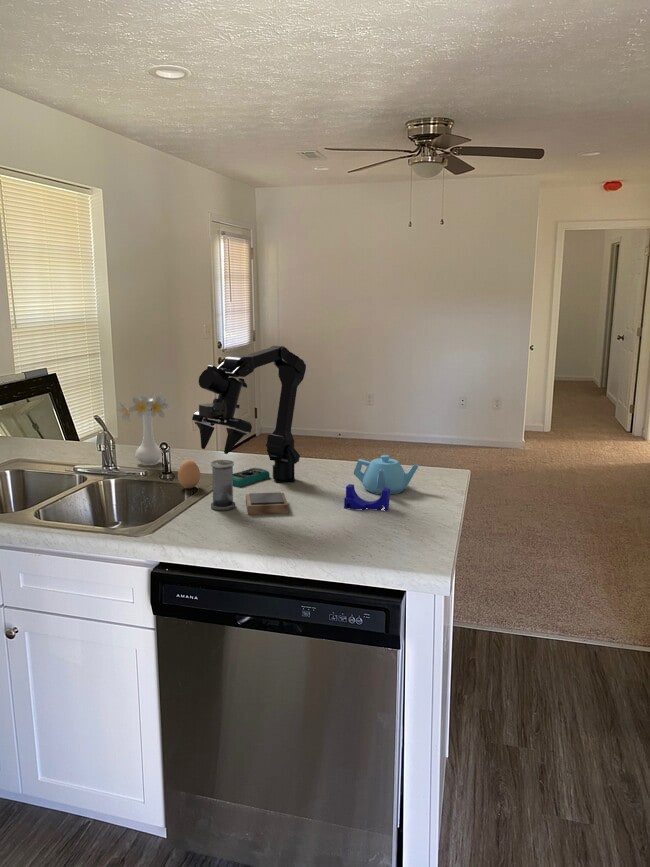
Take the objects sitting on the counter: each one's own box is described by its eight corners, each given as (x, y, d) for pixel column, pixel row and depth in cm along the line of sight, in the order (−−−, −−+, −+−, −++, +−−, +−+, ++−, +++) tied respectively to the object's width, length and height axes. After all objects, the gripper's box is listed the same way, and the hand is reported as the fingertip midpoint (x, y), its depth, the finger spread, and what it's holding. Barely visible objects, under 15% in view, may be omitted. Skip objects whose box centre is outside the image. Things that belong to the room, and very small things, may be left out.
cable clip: (344, 508, 189) (344, 488, 188) (348, 504, 193) (349, 484, 192) (385, 513, 186) (386, 492, 184) (389, 508, 190) (389, 488, 188)
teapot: (388, 479, 219) (389, 447, 216) (419, 491, 206) (420, 457, 204) (350, 486, 210) (351, 453, 208) (380, 499, 198) (381, 463, 196)
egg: (176, 486, 208) (175, 458, 206) (198, 484, 210) (197, 456, 209) (180, 492, 202) (179, 463, 200) (202, 490, 204) (201, 461, 202)
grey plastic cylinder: (235, 503, 192) (234, 459, 190) (235, 510, 186) (235, 465, 183) (211, 503, 191) (210, 459, 188) (210, 511, 185) (209, 465, 182)
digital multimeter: (271, 478, 219) (271, 470, 219) (239, 488, 208) (238, 479, 207) (255, 474, 224) (254, 466, 223) (222, 484, 212) (222, 475, 212)
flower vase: (114, 466, 230) (111, 394, 225) (156, 456, 245) (153, 388, 239) (140, 472, 223) (136, 398, 217) (181, 461, 237) (179, 392, 232)
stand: (283, 501, 195) (283, 491, 194) (287, 513, 184) (287, 502, 183) (245, 502, 193) (245, 492, 192) (247, 514, 182) (247, 504, 182)
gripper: (185, 387, 190) (171, 440, 188) (232, 394, 179) (218, 450, 177) (212, 397, 199) (199, 448, 197) (259, 404, 188) (245, 458, 186)
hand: (214, 451), depth 189 cm, fingers open, 9 cm apart
